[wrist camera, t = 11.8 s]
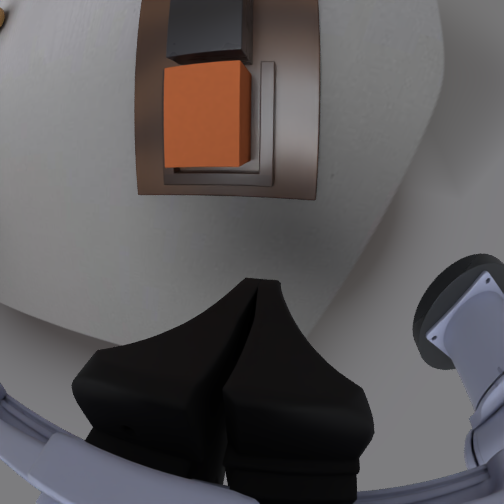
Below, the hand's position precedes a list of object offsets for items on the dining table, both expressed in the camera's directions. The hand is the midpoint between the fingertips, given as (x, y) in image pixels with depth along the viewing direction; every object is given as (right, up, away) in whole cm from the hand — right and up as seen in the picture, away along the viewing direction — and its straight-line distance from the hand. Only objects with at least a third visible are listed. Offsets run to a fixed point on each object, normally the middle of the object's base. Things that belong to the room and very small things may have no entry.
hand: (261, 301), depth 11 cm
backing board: (-2, +26, 0) cm, 26 cm away
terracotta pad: (-2, +10, +5) cm, 12 cm away
